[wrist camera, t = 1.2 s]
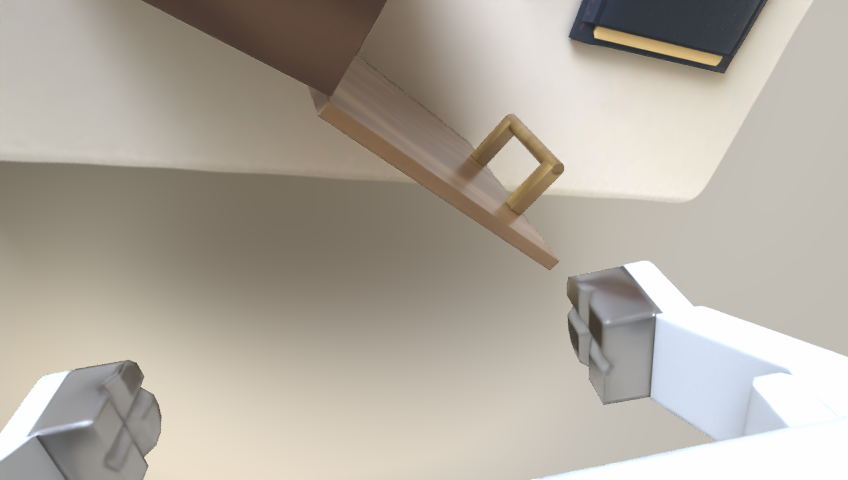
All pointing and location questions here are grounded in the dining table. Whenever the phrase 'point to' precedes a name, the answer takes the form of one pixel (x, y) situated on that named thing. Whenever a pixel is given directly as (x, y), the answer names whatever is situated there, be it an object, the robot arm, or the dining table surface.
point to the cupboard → (286, 32)
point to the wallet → (670, 28)
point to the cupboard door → (442, 154)
